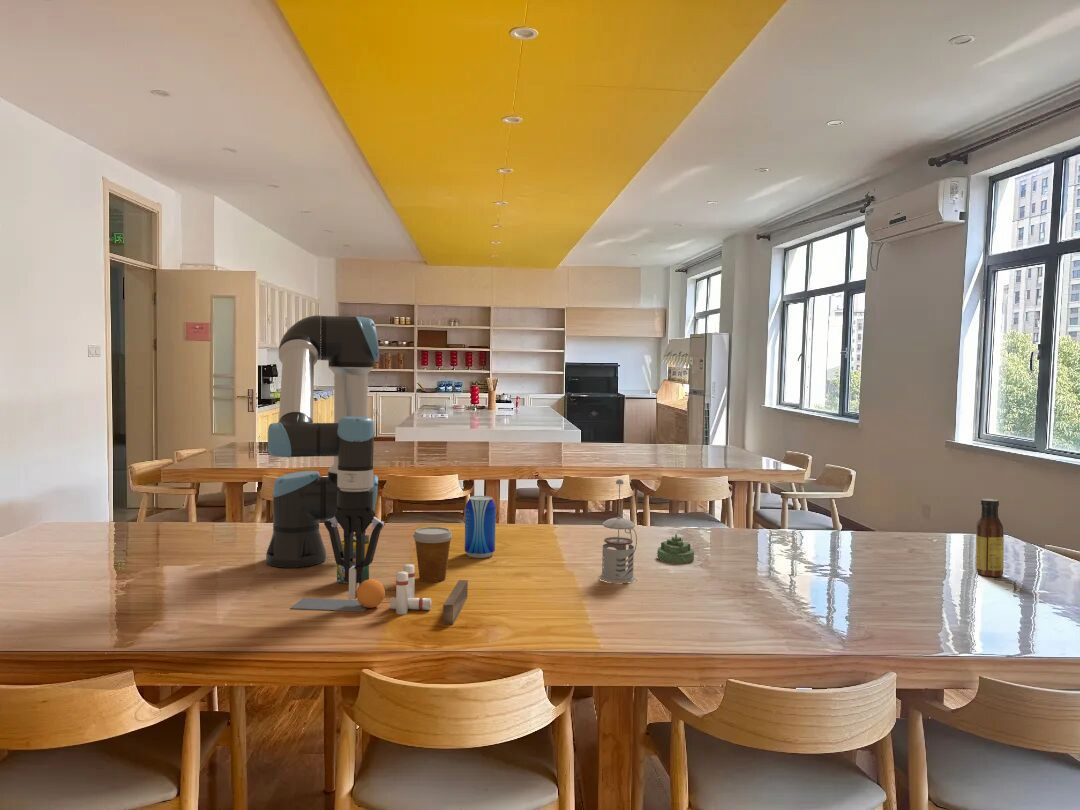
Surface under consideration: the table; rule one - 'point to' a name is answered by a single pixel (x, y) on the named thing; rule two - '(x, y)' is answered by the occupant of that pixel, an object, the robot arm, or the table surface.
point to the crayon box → (342, 570)
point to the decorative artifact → (675, 551)
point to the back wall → (455, 602)
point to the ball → (370, 593)
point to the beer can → (480, 526)
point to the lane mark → (329, 605)
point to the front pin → (414, 603)
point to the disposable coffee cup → (432, 552)
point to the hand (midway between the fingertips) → (353, 597)
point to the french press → (618, 551)
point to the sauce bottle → (989, 540)
